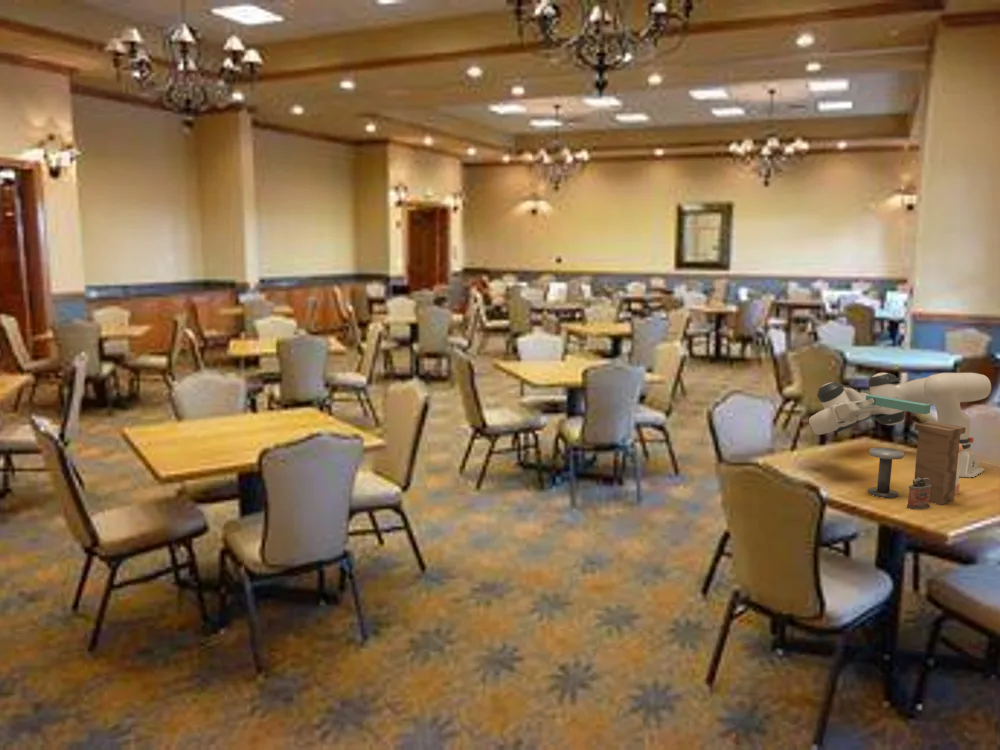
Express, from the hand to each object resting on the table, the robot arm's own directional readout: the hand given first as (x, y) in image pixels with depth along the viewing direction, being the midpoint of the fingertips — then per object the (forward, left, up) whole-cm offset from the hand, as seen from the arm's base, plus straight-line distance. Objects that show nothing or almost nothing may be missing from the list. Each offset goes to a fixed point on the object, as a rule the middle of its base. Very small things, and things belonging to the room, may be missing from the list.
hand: (878, 399), depth 302 cm
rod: (0, +7, -2) cm, 7 cm away
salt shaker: (-15, +20, -32) cm, 41 cm away
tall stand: (-2, +22, -32) cm, 39 cm away
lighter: (+11, +24, -32) cm, 41 cm away
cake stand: (+7, +9, -32) cm, 34 cm away
